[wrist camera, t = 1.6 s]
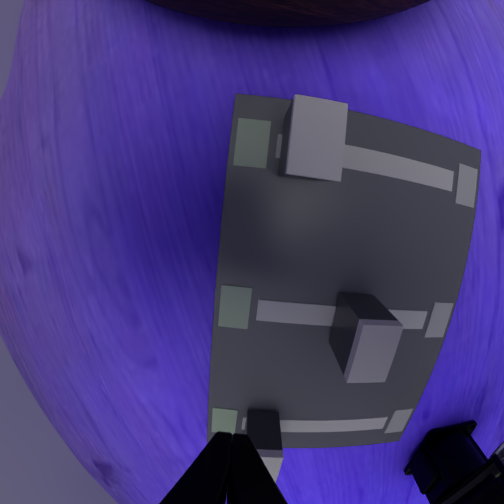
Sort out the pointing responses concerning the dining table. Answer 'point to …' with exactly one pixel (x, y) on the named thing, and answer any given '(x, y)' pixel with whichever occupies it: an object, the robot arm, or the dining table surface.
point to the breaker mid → (364, 338)
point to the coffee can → (500, 454)
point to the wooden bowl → (289, 10)
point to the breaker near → (313, 139)
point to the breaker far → (266, 438)
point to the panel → (334, 273)
